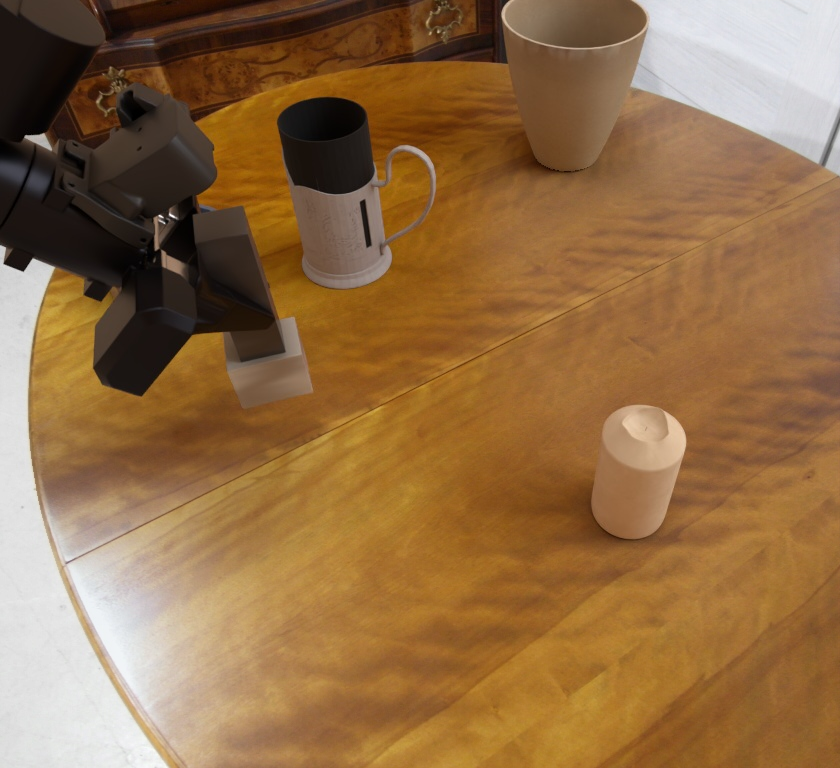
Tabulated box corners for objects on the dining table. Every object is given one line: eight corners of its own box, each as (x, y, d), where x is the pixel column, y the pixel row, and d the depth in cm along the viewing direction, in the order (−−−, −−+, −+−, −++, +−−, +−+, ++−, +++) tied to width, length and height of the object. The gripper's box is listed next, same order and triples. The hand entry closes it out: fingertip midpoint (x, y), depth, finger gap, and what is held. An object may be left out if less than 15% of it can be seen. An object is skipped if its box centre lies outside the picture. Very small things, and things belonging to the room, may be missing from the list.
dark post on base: (242, 409, 55) (177, 252, 44) (237, 370, 57) (174, 212, 47) (313, 392, 56) (265, 235, 45) (305, 355, 58) (258, 197, 48)
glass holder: (326, 225, 80) (299, 86, 69) (456, 252, 77) (450, 112, 66) (285, 278, 74) (249, 135, 63) (424, 309, 71) (412, 166, 60)
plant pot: (514, 115, 95) (517, -22, 84) (634, 130, 94) (655, -8, 82) (487, 182, 85) (486, 37, 74) (621, 200, 84) (642, 54, 72)
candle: (623, 465, 60) (641, 377, 52) (680, 508, 57) (707, 423, 50) (575, 507, 57) (587, 420, 50) (632, 554, 55) (654, 471, 47)
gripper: (76, 174, 32) (372, 318, 43) (91, -2, 44) (320, 145, 54) (-39, 349, 36) (257, 440, 47) (3, 144, 48) (232, 254, 58)
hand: (269, 306), depth 51 cm, fingers closed on dark post on base, 3 cm apart
